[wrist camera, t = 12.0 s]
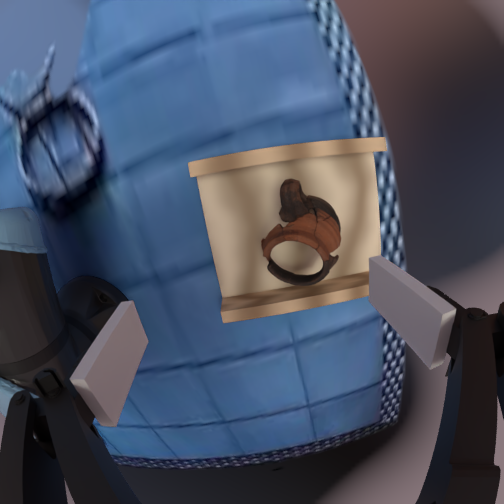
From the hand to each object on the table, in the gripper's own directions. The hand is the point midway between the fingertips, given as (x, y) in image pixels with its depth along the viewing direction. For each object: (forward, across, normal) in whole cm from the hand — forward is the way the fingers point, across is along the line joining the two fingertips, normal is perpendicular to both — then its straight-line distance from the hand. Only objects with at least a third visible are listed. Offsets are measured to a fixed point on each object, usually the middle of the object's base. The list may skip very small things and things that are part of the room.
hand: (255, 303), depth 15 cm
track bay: (+21, +7, -1) cm, 22 cm away
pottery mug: (+20, +7, -1) cm, 21 cm away
